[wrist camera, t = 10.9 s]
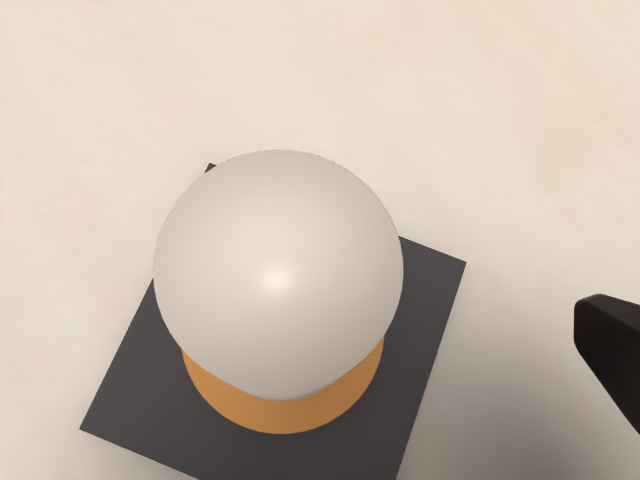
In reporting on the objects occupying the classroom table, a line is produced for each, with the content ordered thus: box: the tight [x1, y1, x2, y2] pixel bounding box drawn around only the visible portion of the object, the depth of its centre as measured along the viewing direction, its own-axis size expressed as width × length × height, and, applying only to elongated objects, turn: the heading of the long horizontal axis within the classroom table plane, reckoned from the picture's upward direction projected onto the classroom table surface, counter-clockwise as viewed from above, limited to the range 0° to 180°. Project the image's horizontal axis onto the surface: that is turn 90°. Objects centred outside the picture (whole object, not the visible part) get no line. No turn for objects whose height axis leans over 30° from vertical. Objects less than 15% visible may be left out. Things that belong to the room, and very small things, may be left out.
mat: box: [79, 163, 466, 480], centre depth 20 cm, size 10×10×1 cm
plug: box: [153, 150, 403, 434], centre depth 15 cm, size 6×6×11 cm
